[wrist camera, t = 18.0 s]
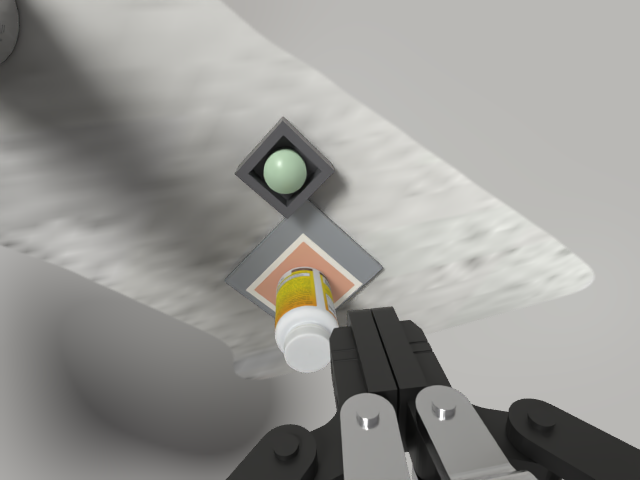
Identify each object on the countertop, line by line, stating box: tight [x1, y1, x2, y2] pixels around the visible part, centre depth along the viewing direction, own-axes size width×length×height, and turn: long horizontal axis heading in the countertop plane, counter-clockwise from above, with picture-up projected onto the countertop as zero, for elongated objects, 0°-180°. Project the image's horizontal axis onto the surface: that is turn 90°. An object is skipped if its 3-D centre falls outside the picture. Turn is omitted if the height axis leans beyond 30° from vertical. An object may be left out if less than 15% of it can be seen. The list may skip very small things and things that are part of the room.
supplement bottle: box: [275, 267, 339, 373], centre depth 35 cm, size 6×6×10 cm
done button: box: [264, 147, 307, 194], centre depth 33 cm, size 4×4×2 cm
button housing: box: [235, 117, 335, 219], centre depth 34 cm, size 6×6×3 cm
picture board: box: [225, 199, 382, 318], centre depth 40 cm, size 11×12×1 cm
